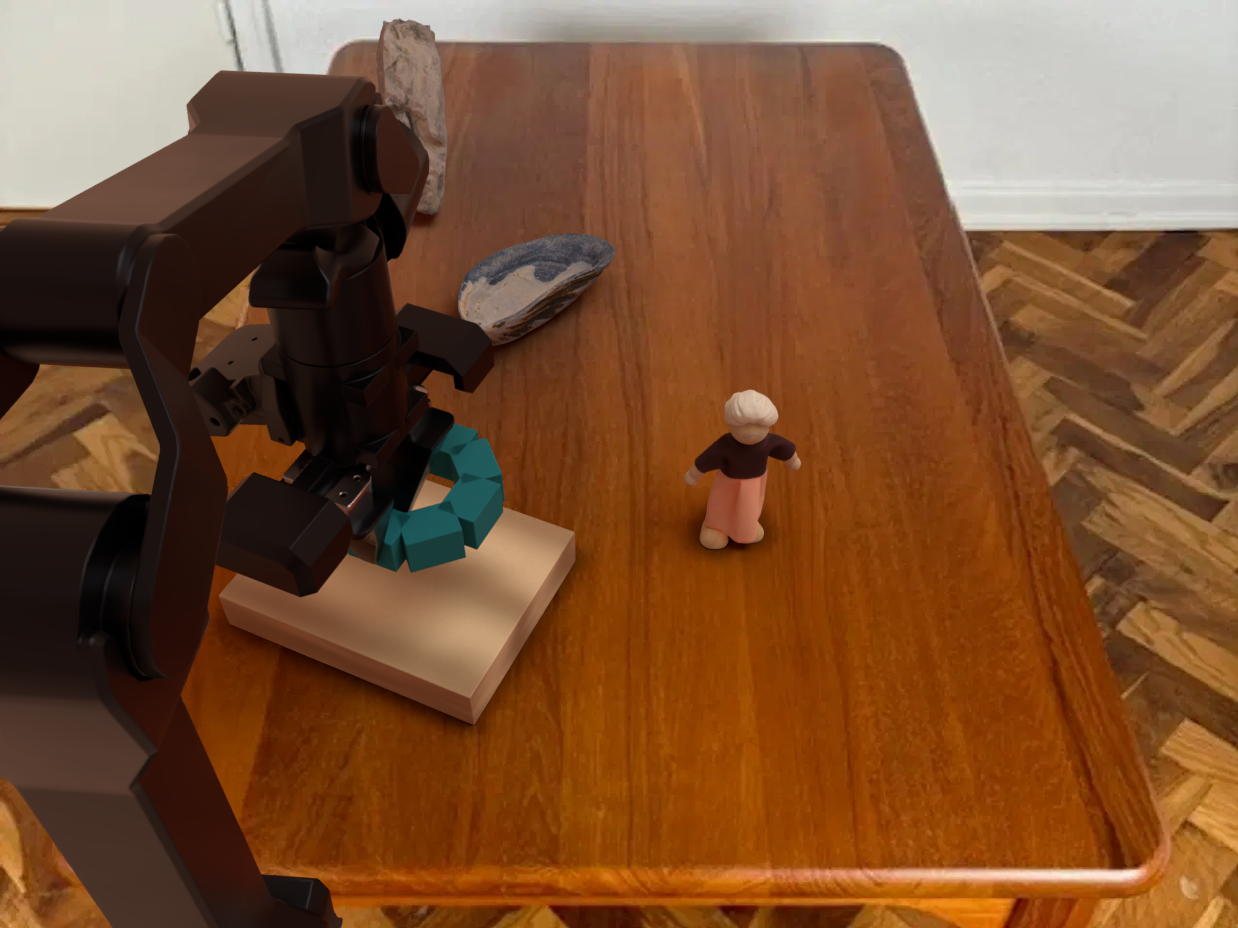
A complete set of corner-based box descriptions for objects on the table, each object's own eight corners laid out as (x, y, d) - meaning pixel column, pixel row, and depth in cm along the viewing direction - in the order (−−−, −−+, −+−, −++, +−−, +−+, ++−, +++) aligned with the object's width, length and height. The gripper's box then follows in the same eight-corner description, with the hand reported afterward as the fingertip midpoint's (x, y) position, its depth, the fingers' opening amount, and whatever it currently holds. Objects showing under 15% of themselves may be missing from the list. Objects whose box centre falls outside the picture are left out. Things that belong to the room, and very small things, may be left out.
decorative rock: (382, 136, 117) (358, -13, 106) (450, 131, 118) (433, -18, 107) (383, 233, 106) (356, 77, 95) (458, 227, 107) (440, 72, 96)
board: (474, 725, 72) (470, 698, 69) (228, 624, 77) (217, 595, 75) (576, 560, 80) (575, 531, 78) (349, 479, 86) (343, 449, 83)
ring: (448, 592, 66) (443, 564, 64) (298, 536, 68) (290, 508, 67) (529, 474, 72) (527, 446, 70) (389, 428, 75) (384, 399, 73)
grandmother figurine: (698, 566, 80) (709, 432, 71) (675, 526, 82) (683, 391, 73) (800, 535, 82) (824, 400, 73) (775, 496, 84) (795, 361, 75)
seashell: (617, 378, 93) (617, 328, 89) (456, 379, 93) (449, 330, 89) (614, 259, 104) (614, 210, 100) (469, 260, 103) (464, 211, 100)
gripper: (305, 188, 64) (350, 400, 76) (62, 404, 52) (159, 618, 64) (488, 237, 61) (507, 451, 72) (274, 479, 49) (337, 690, 61)
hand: (382, 542), depth 67 cm, fingers closed on ring, 2 cm apart
